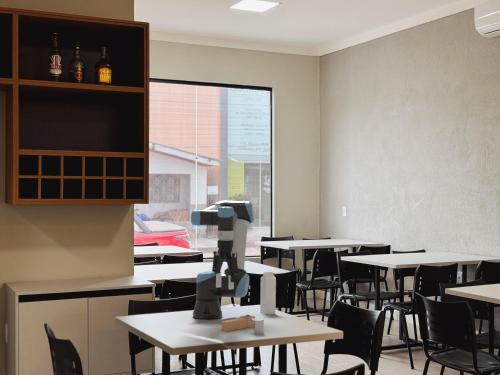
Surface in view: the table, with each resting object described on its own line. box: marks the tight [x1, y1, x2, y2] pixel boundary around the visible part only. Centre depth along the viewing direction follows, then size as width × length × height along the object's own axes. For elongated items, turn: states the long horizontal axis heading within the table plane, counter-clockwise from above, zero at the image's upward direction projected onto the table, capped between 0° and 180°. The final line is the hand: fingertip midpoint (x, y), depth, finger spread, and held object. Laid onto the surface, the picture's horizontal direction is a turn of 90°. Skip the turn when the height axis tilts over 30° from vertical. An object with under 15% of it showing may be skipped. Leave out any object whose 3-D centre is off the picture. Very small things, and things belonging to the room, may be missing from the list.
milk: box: [259, 271, 277, 315], centre depth 370 cm, size 6×6×22 cm
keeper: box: [251, 317, 265, 335], centre depth 315 cm, size 5×5×6 cm
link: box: [221, 314, 256, 332], centre depth 324 cm, size 18×5×4 cm, turn 138°
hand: (224, 288), depth 328 cm, fingers open, 8 cm apart
